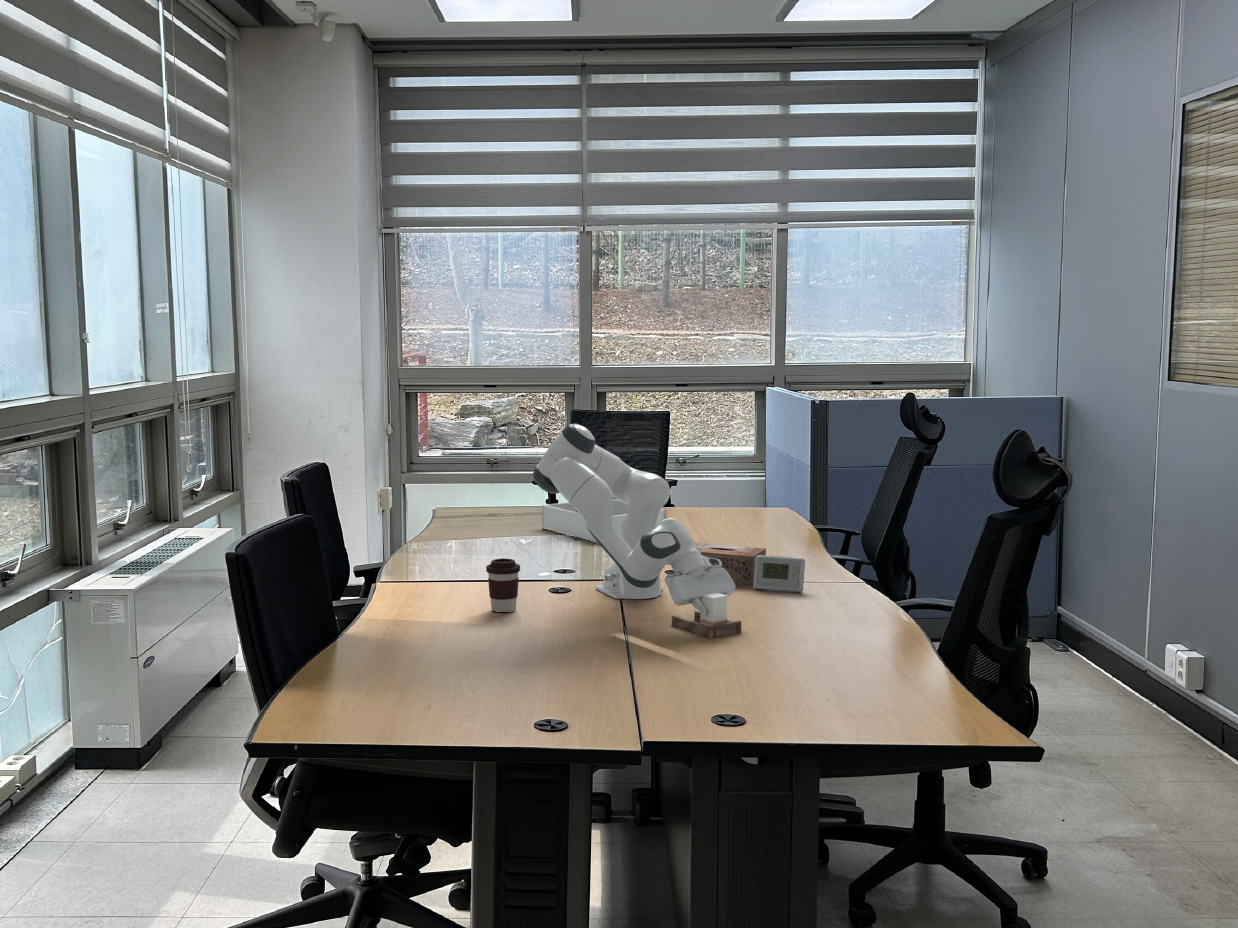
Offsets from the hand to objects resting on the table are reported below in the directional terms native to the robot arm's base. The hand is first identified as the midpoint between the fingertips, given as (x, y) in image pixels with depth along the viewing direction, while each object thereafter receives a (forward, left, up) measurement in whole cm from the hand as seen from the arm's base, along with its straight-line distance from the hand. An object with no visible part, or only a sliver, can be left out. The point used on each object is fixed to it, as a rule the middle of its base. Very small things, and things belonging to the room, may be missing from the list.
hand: (715, 612), depth 291 cm
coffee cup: (-59, -31, -7) cm, 67 cm away
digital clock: (-29, +53, -7) cm, 60 cm away
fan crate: (-146, +68, -7) cm, 161 cm away
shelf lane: (-4, 0, -7) cm, 8 cm away
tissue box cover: (-53, +50, -7) cm, 73 cm away
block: (-1, 0, -5) cm, 5 cm away
